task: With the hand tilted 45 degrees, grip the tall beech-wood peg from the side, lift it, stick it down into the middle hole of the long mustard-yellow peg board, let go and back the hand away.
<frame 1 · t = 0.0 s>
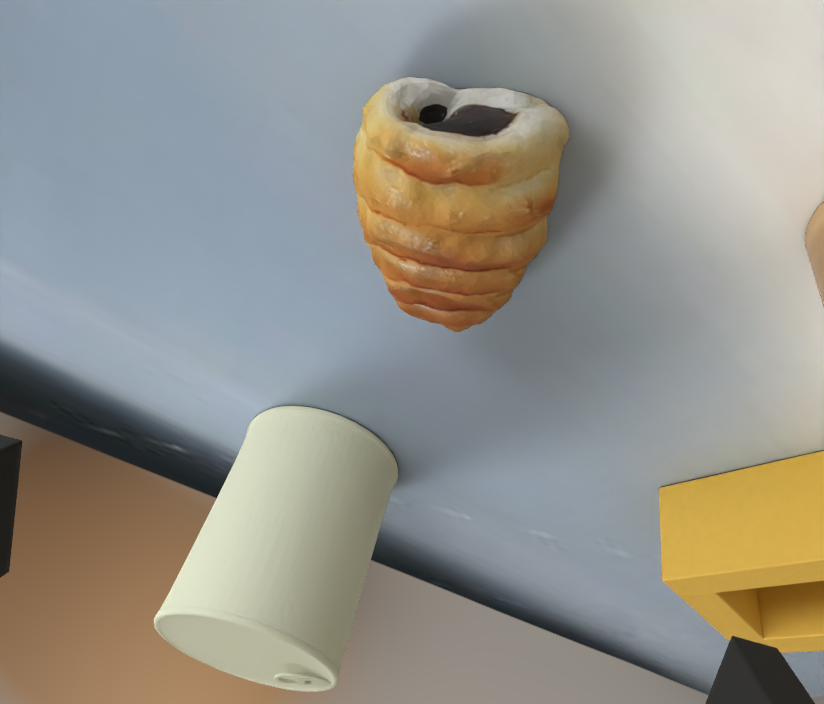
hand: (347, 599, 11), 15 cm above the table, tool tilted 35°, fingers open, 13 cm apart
pastry: (465, 183, 23), on the table
can: (324, 452, 38), on the table
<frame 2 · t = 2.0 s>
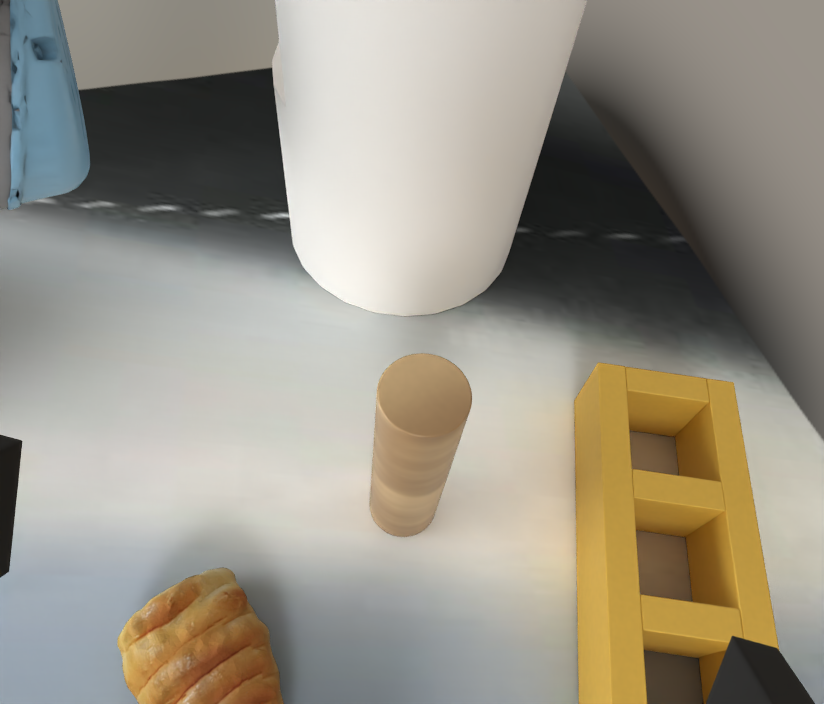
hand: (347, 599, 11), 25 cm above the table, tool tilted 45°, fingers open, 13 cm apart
peg: (402, 504, 38), on the table
pastry: (213, 663, 33), on the table
cylinder: (401, 228, 51), on the table
board: (647, 573, 37), on the table
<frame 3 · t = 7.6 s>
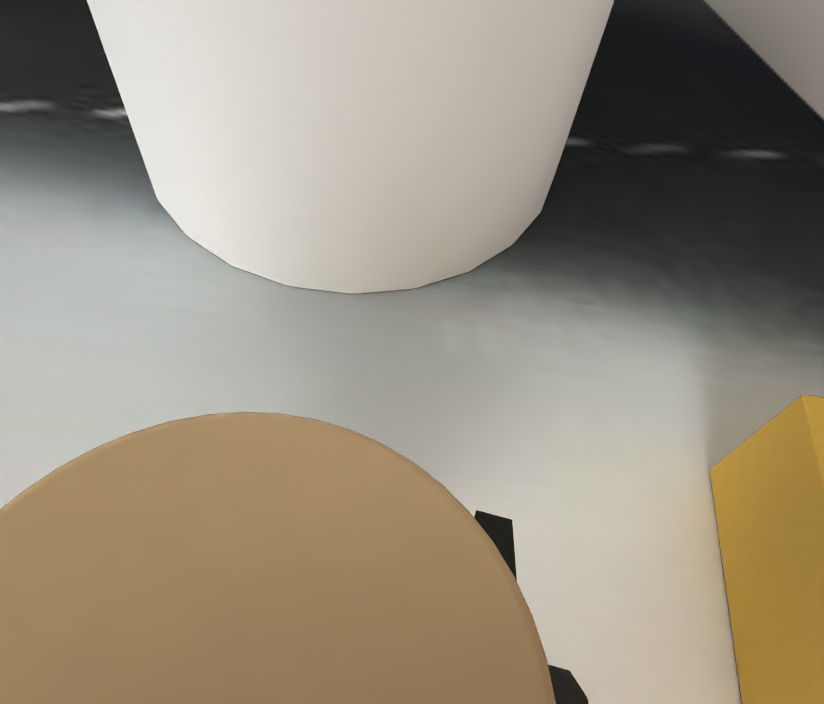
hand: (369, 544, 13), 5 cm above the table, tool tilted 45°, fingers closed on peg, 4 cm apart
cylinder: (355, 137, 28), on the table
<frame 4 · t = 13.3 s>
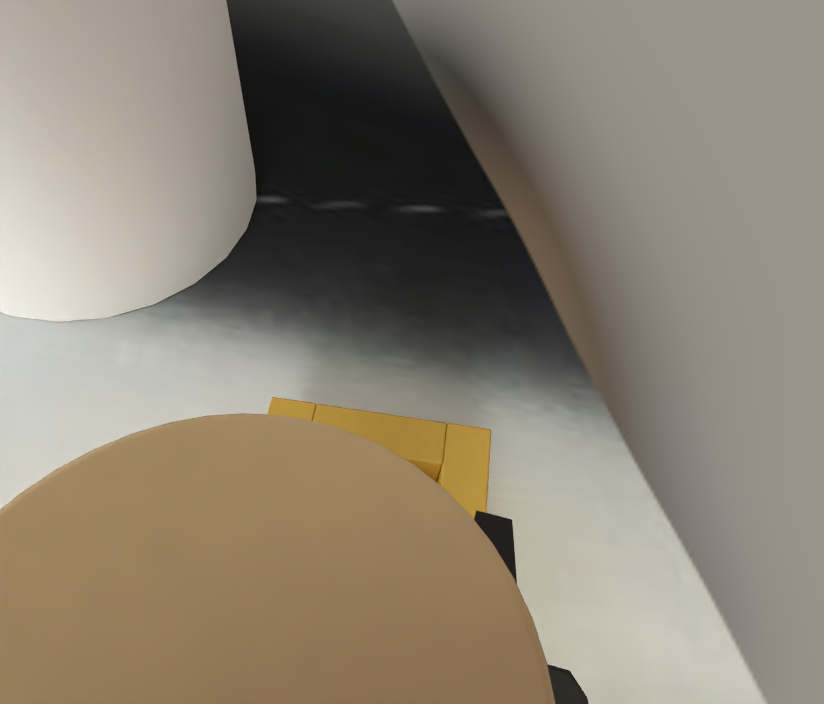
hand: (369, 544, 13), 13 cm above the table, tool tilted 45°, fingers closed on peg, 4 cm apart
cylinder: (99, 197, 36), on the table
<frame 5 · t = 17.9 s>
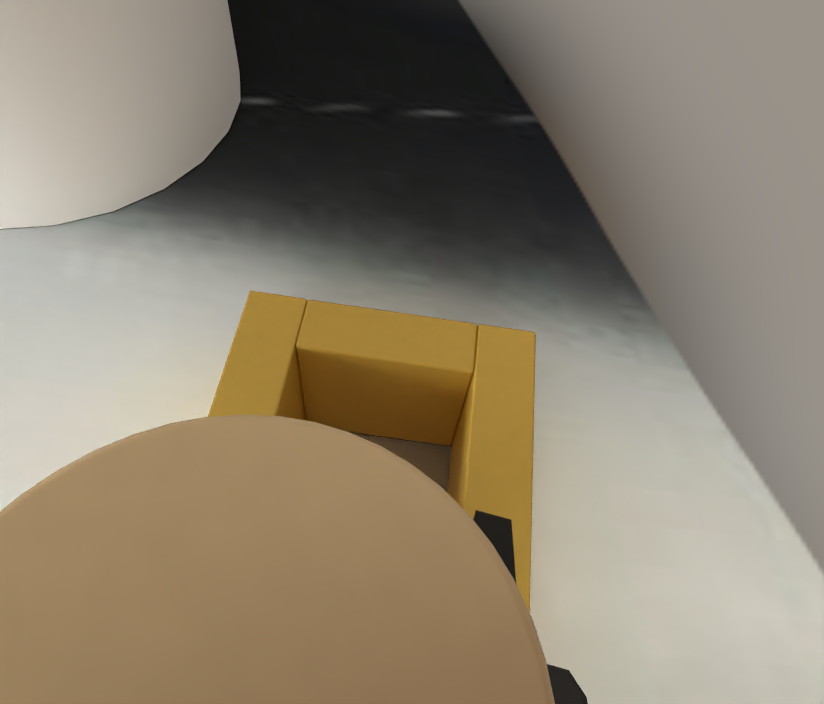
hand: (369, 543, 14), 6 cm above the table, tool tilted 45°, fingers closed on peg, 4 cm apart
cylinder: (54, 96, 30), on the table
when the fingers open (7 cm above the table, at t = 19.4 s): peg drops 3 cm, resting in board.
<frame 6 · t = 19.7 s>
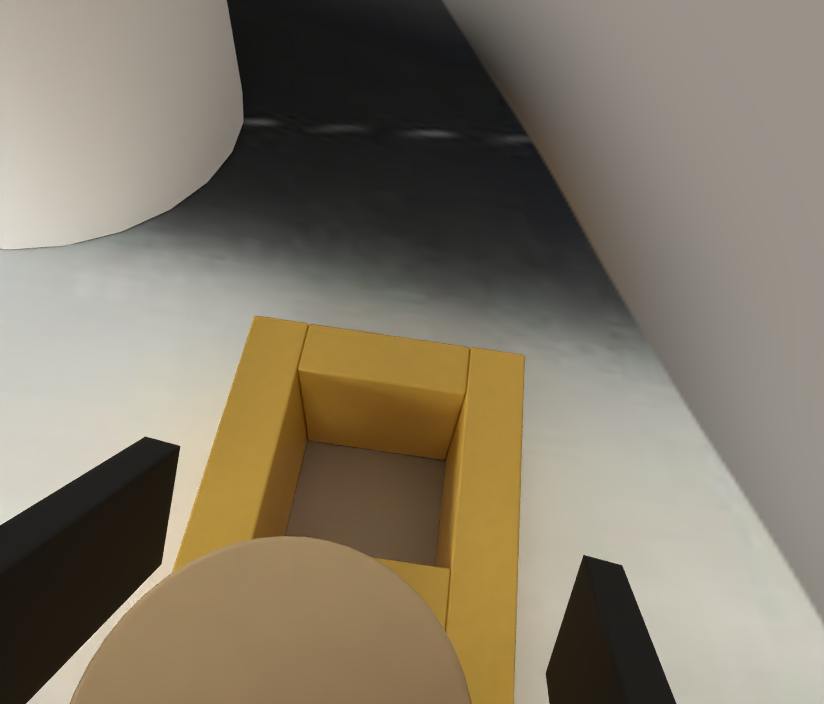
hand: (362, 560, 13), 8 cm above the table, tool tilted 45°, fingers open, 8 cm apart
cylinder: (64, 117, 31), on the table
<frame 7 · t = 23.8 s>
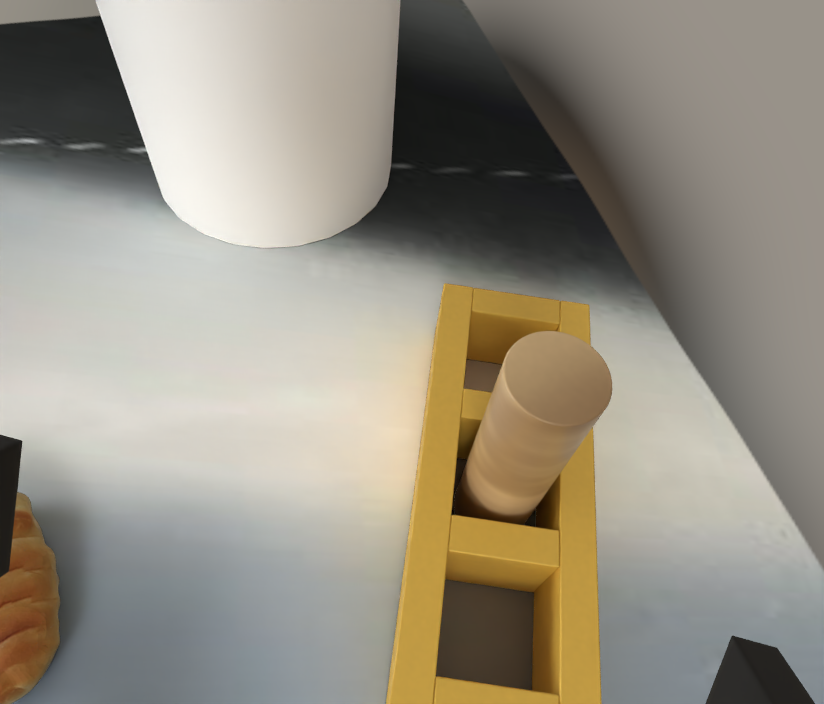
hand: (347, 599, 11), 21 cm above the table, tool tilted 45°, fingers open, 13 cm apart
peg: (489, 506, 35), resting in board
cylinder: (276, 163, 48), on the table
board: (489, 506, 35), on the table
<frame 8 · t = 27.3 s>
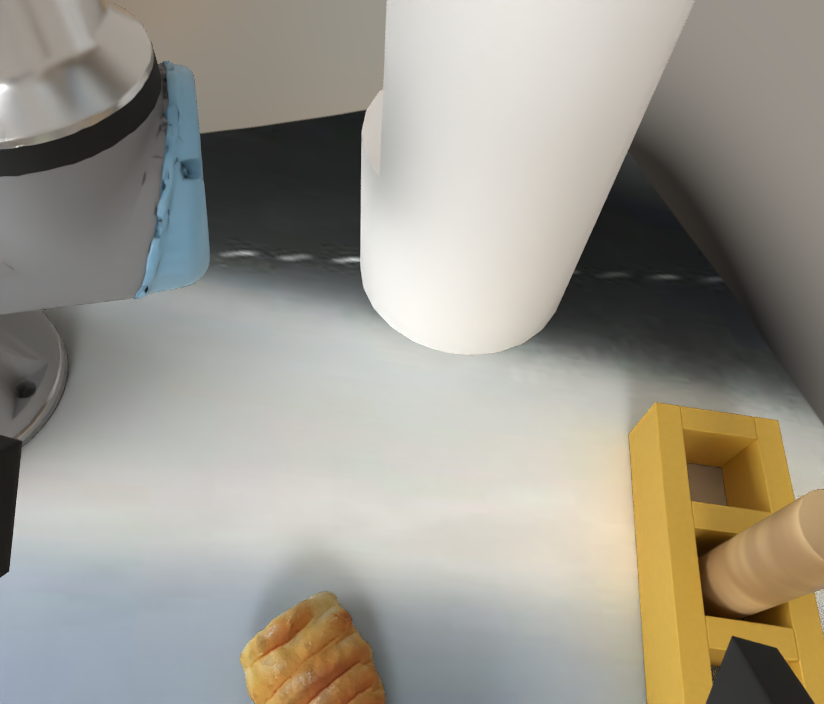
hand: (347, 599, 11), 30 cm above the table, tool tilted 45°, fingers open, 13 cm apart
peg: (702, 594, 41), resting in board
pastry: (320, 677, 37), on the table
cylinder: (461, 271, 55), on the table
board: (702, 594, 41), on the table
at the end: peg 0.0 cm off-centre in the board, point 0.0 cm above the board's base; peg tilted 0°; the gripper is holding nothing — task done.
